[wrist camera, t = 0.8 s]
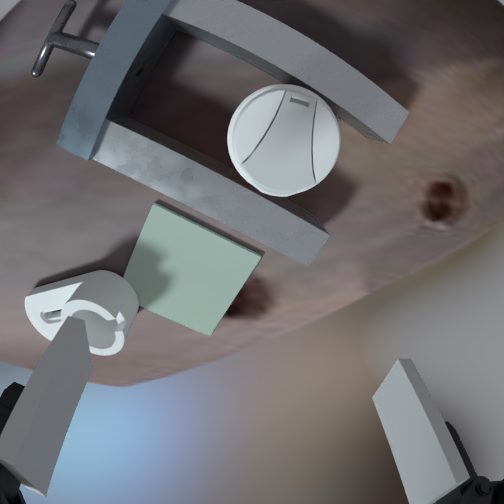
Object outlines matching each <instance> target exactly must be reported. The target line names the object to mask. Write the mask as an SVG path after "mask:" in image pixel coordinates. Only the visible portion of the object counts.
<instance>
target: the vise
mask: <svg viewBox="0 0 504 504" xmlns="http://www.w3.org/2000/svg"><path fill="white" fill-rule="evenodd" d="M76 5H77V3H76V1H75V0H69V1H67V2H66V3H65V5H64V7H63V8H62V10H61V12H60V13H59V15H58V17H57V19H56V21H55V23H54V24H53V26H52V28H51V30H50V32H49V34H48V36H47V38H46V40H45V42H44V44H43V46H42V48H41V50H40V53H39V55H38V57H37V59H36V61H35V64H34V66H33V68H32V71H31V74H32V76H33V77H39V76H40V75H41V74H42V73H43V70H44V68H45V66H46V63H47V61H48V59H49V57H50V55H51V52H52V50H53V48H54V47H56V48H59V49H62V50H66V51H69V52H72V53H75V54H78V55H81V56H84V57H86V58H89V59H92V60H91V62H90V64H89V66H88V68H87V70H86V72H85V74H84V76H83V78H82V80H81V83H80V85H79V87H78V89H77V91H76V94H75V96H74V98H73V101H72V103H71V106H70V108H69V111H68V113H67V116H66V118H65V121H64V124H63V126H62V129H61V132H60V135H59V138H58V141H57V144H56V145H57V146H59V147H61V148H63V149H65V150H67V151H69V152H71V153H73V154H75V155H77V156H79V157H81V158H84V159H86V160H90V159H94V160H96V161H98V162H100V163H102V164H104V165H106V166H108V167H110V168H112V169H114V170H116V171H118V172H121V173H123V174H125V175H127V176H129V177H131V178H133V179H135V180H137V181H139V182H141V183H143V184H145V185H147V186H149V187H151V188H153V189H155V190H157V191H159V192H161V193H163V194H165V195H167V196H169V197H171V198H173V199H175V200H177V201H179V202H181V203H183V204H185V205H187V206H189V207H191V208H193V209H195V210H197V211H199V212H201V213H203V214H205V215H207V216H209V217H211V218H213V219H215V220H217V221H219V222H221V223H223V224H225V225H227V226H229V227H231V228H233V229H235V230H237V231H239V232H241V233H243V234H245V235H247V236H249V237H251V238H253V239H255V240H257V241H259V242H261V243H263V244H265V245H267V246H268V247H270V248H272V249H274V250H276V251H278V252H280V253H282V254H284V255H286V256H288V257H290V258H292V259H294V260H296V261H298V262H300V263H302V264H304V265H306V266H307V267H308V266H309V265H310V263H311V262H312V261H313V259H314V258H315V256H316V255H317V253H318V252H319V251H320V249H321V248H322V246H323V245H324V244H325V242H326V241H327V239H328V238H329V236H330V234H329V233H328V232H327V230H326V229H325V227H324V226H323V225H322V223H321V222H320V220H319V219H318V218H317V216H316V215H314V214H313V213H311V212H309V211H308V210H306V209H304V208H302V207H301V206H299V205H297V204H296V203H294V202H292V201H290V200H289V199H287V198H285V197H279V196H272V195H268V194H265V193H262V192H261V191H259V190H258V189H257V188H256V187H254V186H253V185H251V184H250V183H249V182H247V181H246V180H245V179H244V178H243V177H242V176H241V175H240V173H239V172H238V171H236V170H234V169H232V168H230V167H229V166H227V165H225V164H223V163H221V162H219V161H217V160H215V159H213V158H211V157H209V156H207V155H205V154H203V153H202V152H200V151H198V150H196V149H194V148H192V147H190V146H188V145H186V144H184V143H182V142H180V141H177V140H175V139H173V138H171V137H169V136H167V135H165V134H163V133H161V132H159V131H157V130H155V129H153V128H150V127H148V126H146V125H144V124H142V123H140V122H137V121H135V120H133V119H131V118H129V116H130V114H131V112H132V110H133V107H134V105H135V103H136V101H137V99H138V97H139V95H140V94H141V92H142V90H143V88H144V86H145V84H146V82H147V80H148V78H149V77H150V75H151V73H152V71H153V69H154V68H155V66H156V64H157V62H158V61H159V59H160V57H161V55H162V54H163V52H164V50H165V49H166V47H167V46H168V44H169V42H170V41H171V39H172V37H173V36H174V34H175V33H176V31H177V30H178V31H180V32H183V33H185V34H188V35H190V36H192V37H195V38H197V39H199V40H202V41H204V42H206V43H208V44H211V45H213V46H215V47H217V48H219V49H221V50H224V51H226V52H228V53H230V54H232V55H234V56H236V57H238V58H240V59H242V60H244V61H246V62H248V63H250V64H252V65H253V66H255V67H257V68H259V69H261V70H263V71H265V72H266V73H268V74H270V75H272V76H273V77H275V78H277V79H279V80H280V81H282V82H284V83H286V84H289V85H295V86H300V87H303V88H305V89H308V90H310V91H312V92H313V93H315V94H317V95H318V96H319V97H320V98H322V99H323V100H324V101H325V102H326V103H327V105H328V106H329V107H330V108H331V110H332V112H333V113H334V115H336V116H337V117H339V118H340V119H342V120H343V121H344V122H346V123H347V124H349V125H350V126H351V127H353V128H354V129H355V130H357V131H358V132H360V133H361V134H362V135H364V136H365V137H367V138H370V139H374V140H377V141H381V142H385V143H388V144H390V143H391V142H392V140H393V139H394V137H395V135H396V134H397V132H398V130H399V129H400V127H401V125H402V124H403V122H404V121H405V119H406V117H407V116H408V114H409V112H408V111H407V110H406V109H405V108H403V107H402V106H401V105H400V104H399V103H398V102H396V101H395V100H394V99H393V98H392V97H391V96H389V95H388V94H387V93H386V92H385V91H383V90H382V89H381V88H380V87H378V86H377V85H376V84H375V83H373V82H372V81H371V80H369V79H368V78H367V77H365V76H364V75H363V74H361V73H360V72H359V71H357V70H356V69H355V68H353V67H352V66H350V65H349V64H348V63H346V62H345V61H343V60H342V59H341V58H339V57H338V56H336V55H335V54H333V53H332V52H330V51H329V50H327V49H326V48H324V47H322V46H321V45H319V44H318V43H316V42H314V41H313V40H311V39H310V38H308V37H306V36H305V35H303V34H301V33H300V32H298V31H296V30H294V29H293V28H291V27H289V26H287V25H285V24H284V23H282V22H280V21H278V20H276V19H274V18H272V17H270V16H268V15H266V14H264V13H262V12H260V11H258V10H256V9H254V8H252V7H250V6H248V5H246V4H244V3H241V2H239V1H237V0H126V1H125V3H124V4H123V6H122V7H121V9H120V11H119V12H118V14H117V15H116V17H115V19H114V20H113V22H112V23H111V25H110V27H109V29H108V30H107V32H106V34H105V35H104V37H103V39H102V41H101V43H97V42H94V41H90V40H87V39H84V38H81V37H78V36H74V35H71V34H67V33H64V32H62V31H63V29H64V27H65V25H66V23H67V21H68V20H69V18H70V16H71V14H72V13H73V11H74V9H75V8H76Z"/></svg>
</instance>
